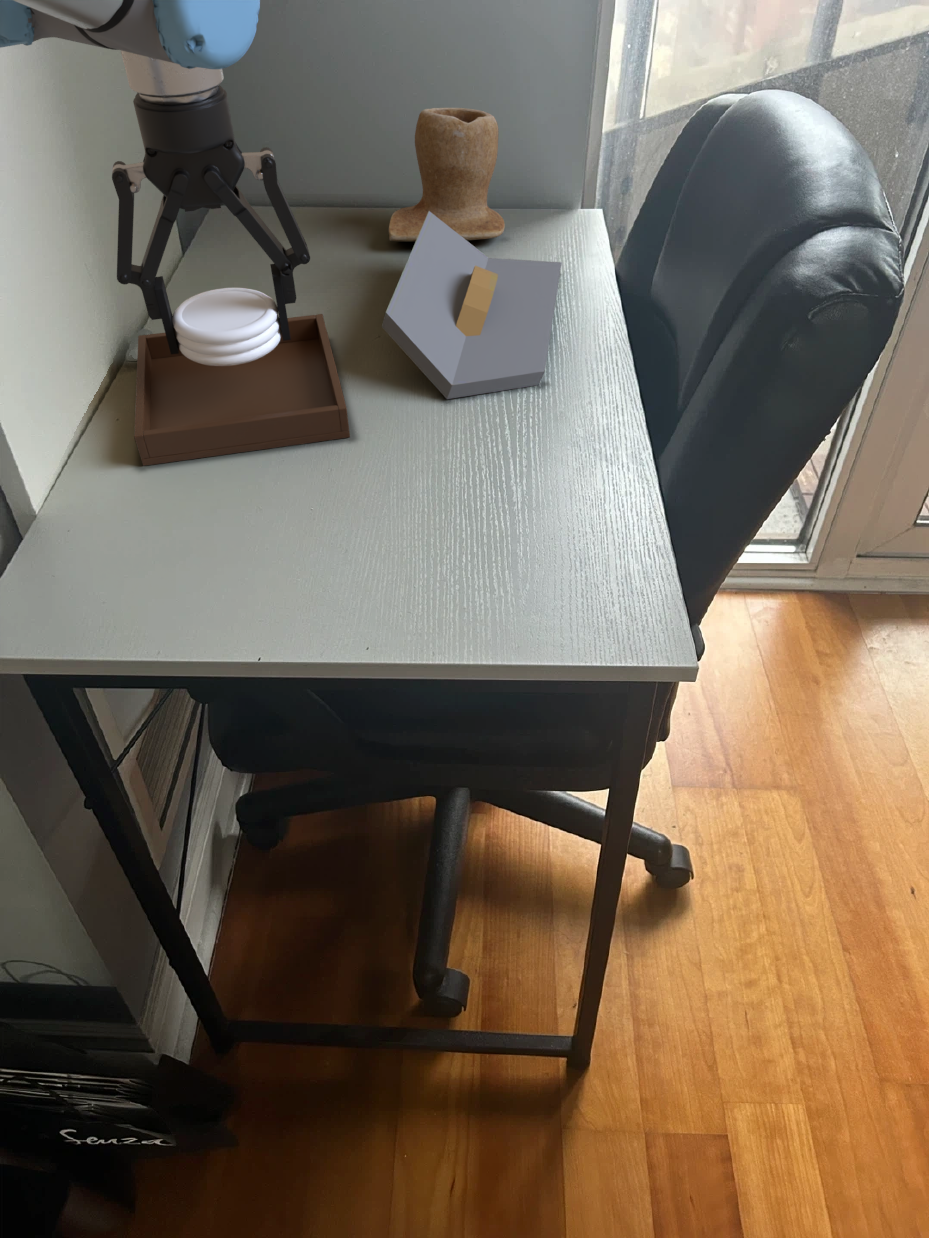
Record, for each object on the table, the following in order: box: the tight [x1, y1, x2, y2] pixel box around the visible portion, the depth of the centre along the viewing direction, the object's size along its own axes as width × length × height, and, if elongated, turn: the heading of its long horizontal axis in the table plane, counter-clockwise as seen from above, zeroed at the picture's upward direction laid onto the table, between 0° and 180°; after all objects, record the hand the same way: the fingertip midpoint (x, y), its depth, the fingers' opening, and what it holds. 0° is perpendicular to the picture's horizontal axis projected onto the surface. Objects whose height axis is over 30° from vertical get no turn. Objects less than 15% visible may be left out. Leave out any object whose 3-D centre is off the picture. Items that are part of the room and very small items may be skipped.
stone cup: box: [388, 107, 506, 243], centre depth 120 cm, size 15×12×15 cm
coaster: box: [172, 287, 282, 366], centre depth 91 cm, size 10×10×4 cm
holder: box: [133, 313, 351, 467], centre depth 95 cm, size 20×20×3 cm
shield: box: [381, 211, 563, 400], centre depth 105 cm, size 17×5×30 cm
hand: (230, 340), depth 92 cm, fingers closed on coaster, 10 cm apart
